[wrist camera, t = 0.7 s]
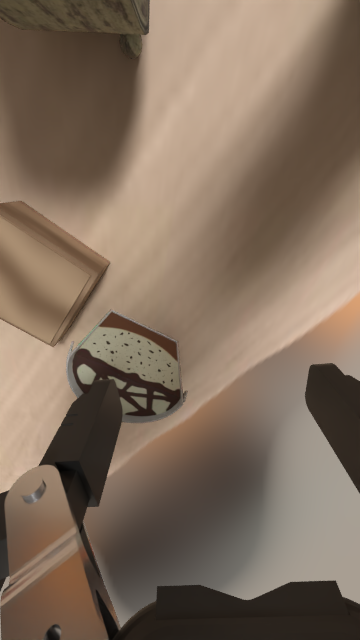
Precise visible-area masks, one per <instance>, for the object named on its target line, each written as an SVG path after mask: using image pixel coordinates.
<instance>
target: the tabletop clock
mask: <svg viewBox="0 0 360 640" xmlns="http://www.w3.org/2000/svg"><path fill="white" fill-rule="evenodd" d="M0 18H1V19H2V20H4V21H5V22H7V23H9V24H11V25H13V26H15V27H18V28H20V29H24V30H47V31H71V32H94V33H118V34H120V45H121V49H122V51H123V53H124V54H125V55H126V56H127V57H128V58H130V59H132V58H137V57H138V56H139V54H140V53H141V49H142V41H141V36H140V34H141V35H146V34H147V33H149V0H0Z"/></svg>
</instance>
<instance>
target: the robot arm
mask: <svg viewBox="0 0 360 640" xmlns="http://www.w3.org/2000/svg"><path fill="white" fill-rule="evenodd" d="M305 399H306V404H307V407H308V409H309V411H310V412H311V414H312V416H313V417H314V419H315V421H316V422H317V424H318V426H319V427H320V429H321V430H322V432H323V434H324V435H325V437H326V439H327V440H328V442H329V444H330V445H331V447H332V448H333V450H334V452H335V454H336V455H337V457H338V458H339V460H340V462H341V463H342V465H343V467H344V468H345V470H346V472H347V473H348V475H349V476H350V478H351V480H352V481H353V483H354V485H355V486H356V488H357V490H358V491H359V493H360V381H358V380H357V379H355V378H353V377H352V376H350V375H344V374H343V373H342V372H341V371H340V370H339V369H338V367H337V366H336V365H334V364H333V363H327V364H315V365H311V366H310V369H309V374H308V380H307V387H306V392H305ZM122 417H123V410H122V404H121V400H120V397H119V393H118V389H117V385H116V382H115V380H114V379H106V380H95V381H94V382H93V384H92V386H91V388H90V390H89V392H88V393H87V394H82V395H81V396H80V397H79V398H78V399H77V400H75V401H74V402H73V403H72V405H71V407H70V409H69V411H68V412H67V414H66V417H65V418H64V420H63V422H62V424H61V426H60V427H59V429H58V431H57V433H56V435H55V436H54V438H53V440H52V442H51V444H50V446H49V447H48V449H47V451H46V453H45V455H44V457H43V459H42V460H41V462H40V464H39V466H38V467H35V468H33V469H31V470H29V471H28V472H26V473H25V474H23V475H22V476H21V477H20V478H19V479H18V480H17V481H16V482H15V483H14V484H13V486H12V487H11V488H10V490H8V491H6V492H3V493H1V494H0V591H1V588H2V586H3V584H4V581H5V579H6V577H8V576H10V582H9V586H8V587H7V588H6V589H4V591H3V593H2V596H1V604H0V615H1V616H0V617H1V640H360V604H358V603H356V602H354V601H352V600H349V599H347V598H344V597H342V595H341V592H340V590H339V588H338V585H337V583H336V581H309V582H290V583H288V584H285V585H283V586H281V587H279V588H277V589H274V590H273V591H270V592H268V593H265V594H263V595H261V596H259V597H256V598H254V599H252V600H242V599H240V598H237V597H234V596H231V595H228V594H225V593H222V592H219V591H216V590H213V589H210V588H207V587H204V586H201V585H185V586H158V587H157V600H156V601H155V602H153V603H151V604H149V605H147V606H146V607H144V608H142V609H141V610H140V611H138V612H137V613H136V614H135V615H134V616H132V617H131V618H130V619H129V620H128V621H127V622H126V623H125V624H124V626H123V627H122V628H121V627H120V624H119V621H118V618H117V615H116V612H115V609H114V607H113V604H112V601H111V599H110V596H109V594H108V591H107V589H106V586H105V584H104V581H103V578H102V575H101V572H100V569H99V566H98V563H97V560H96V557H95V554H94V551H93V548H92V545H91V542H90V539H89V536H88V533H87V530H86V527H85V524H84V522H83V519H84V516H85V513H86V509H87V507H98V506H99V503H100V500H101V495H102V492H103V489H104V485H105V481H106V478H107V474H108V470H109V467H110V463H111V459H112V456H113V452H114V448H115V445H116V441H117V437H118V434H119V430H120V426H121V423H122Z"/></svg>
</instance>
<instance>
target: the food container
mask: <svg viewBox="0 0 360 640" xmlns="http://www.w3.org/2000/svg"><path fill="white" fill-rule="evenodd" d="M73 344H74V341H72V343H71V346H70V349H69V353H68V356H67V364H66V367H67V368H66V373H67V379H68V382H69V385H70V387H71V389H72V391H73V392H74V394H75V395H76V396H77V398H79V397H80V396H81V395H82V394H87V393H88V392H89V390H90V388H91V386H92V384H93V382H94V381H95V380H106V379H114V380H115V382H116V385H117V389H118V393H119V397H120V400H121V404H122V410H123V417H122V422H127V423H146V422H153V421H157V420H160V419H163V418H165V417H167V416H169V415H171V414H173V413H174V412H176V411H177V410H178V409H179V408H180V407H181V406H182V405H183V402H184V401H185V400H186V396H187V392H188V391H187V390H186V391H185V392H184V393H183V391H182V380H181V369H180V358H179V347H178V341H176V340H174V339H172V338H170V337H168V336H166V335H164V334H162V333H160V332H157V331H155V330H153V329H151V328H149V327H147V326H145V325H143V324H141V323H139V322H137V321H135V320H133V319H130V318H128V317H126V316H124V315H122V314H120V313H118V312H116V311H114V310H112V309H111V310H110V311H109V312H108V313H107V314H106V315H105V316H104V318H103V319H102V320H101V321H100V322H99V323H98V324H97V325H96V326H95V327H94V328H93V330H92V331H91V332H90V333H89V334H88V335H87V336H86V337H85V338H84V339H83V340H82V342H81V343H80V344H79V345H78V346H77V347H76V348H75V349H74V350H73V351H72V347H73Z"/></svg>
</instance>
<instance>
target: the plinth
mask: <svg viewBox="0 0 360 640" xmlns="http://www.w3.org/2000/svg"><path fill="white" fill-rule="evenodd" d="M109 263H110V262H109V261H108V260H106V259H105V258H104V257H102V256H101V255H99V254H98V253H96V252H95V251H93V250H92V249H90V248H89V247H88V246H86V245H85V244H83V243H82V242H80V241H79V240H77V239H76V238H74V237H73V236H72V235H70V234H69V233H67V232H66V231H64V230H63V229H61V228H60V227H58V226H57V225H56V224H54V223H53V222H51V221H50V220H48V219H47V218H45V217H44V216H43V215H41V214H40V213H38V212H37V211H35V210H34V209H32V208H31V207H29V206H28V205H27V204H25V203H24V202H22V201H17V202H8V203H0V319H2V320H3V321H5V322H7V323H9V324H11V325H13V326H15V327H16V328H18V329H20V330H22V331H24V332H26V333H28V334H29V335H31V336H33V337H35V338H37V339H39V340H41V341H42V342H44V343H46V344H48V345H50V346H52V347H54V346H55V345H56V344H57V342H58V341H59V340H60V339H61V338H62V336H63V335H64V334H65V333H66V331H67V330H68V329H69V327H70V326H71V324H72V322H73V321H74V319H75V318H76V316H77V314H78V313H79V311H80V310H81V308H82V306H83V305H84V303H85V302H86V300H87V298H88V297H89V295H90V294H91V292H92V290H93V289H94V287H95V286H96V284H97V282H98V281H99V279H100V278H101V276H102V274H103V273H104V271H105V270H106V268H107V266H108V265H109Z"/></svg>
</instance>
